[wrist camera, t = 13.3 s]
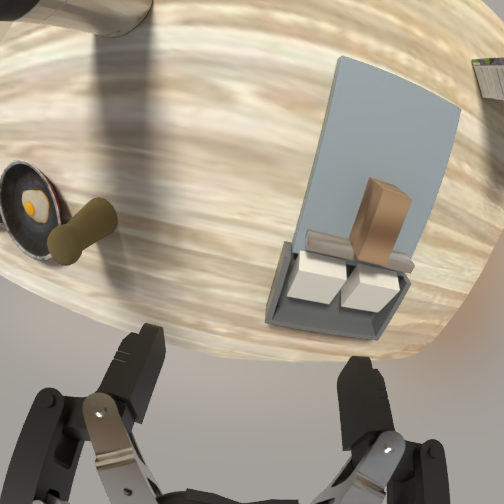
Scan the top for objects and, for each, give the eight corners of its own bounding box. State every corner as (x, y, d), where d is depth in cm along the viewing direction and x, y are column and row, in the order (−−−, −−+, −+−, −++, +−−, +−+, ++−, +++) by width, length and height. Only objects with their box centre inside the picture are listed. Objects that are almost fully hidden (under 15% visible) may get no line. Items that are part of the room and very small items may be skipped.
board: (337, 59, 24) (342, 55, 22) (450, 108, 25) (461, 109, 22) (291, 242, 36) (292, 252, 34) (396, 266, 36) (402, 276, 34)
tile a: (358, 263, 34) (360, 282, 32) (396, 271, 34) (399, 290, 32) (340, 288, 38) (341, 306, 36) (376, 295, 38) (378, 312, 36)
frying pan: (84, 253, 41) (72, 265, 38) (-2, 250, 44) (-12, 258, 41) (59, 144, 32) (43, 150, 29) (-23, 176, 35) (-34, 182, 32)
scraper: (325, 164, 28) (333, 174, 24) (429, 198, 29) (448, 213, 24) (304, 237, 33) (308, 259, 29) (402, 261, 33) (416, 282, 29)
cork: (124, 223, 37) (82, 262, 28) (101, 240, 39) (61, 279, 30) (101, 189, 35) (53, 220, 25) (80, 210, 37) (35, 243, 27)
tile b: (300, 250, 34) (298, 269, 32) (345, 260, 34) (346, 279, 32) (288, 277, 38) (286, 296, 36) (329, 285, 38) (329, 304, 36)
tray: (284, 241, 36) (284, 256, 33) (401, 268, 36) (411, 283, 33) (266, 304, 42) (264, 322, 38) (372, 323, 42) (377, 340, 38)
